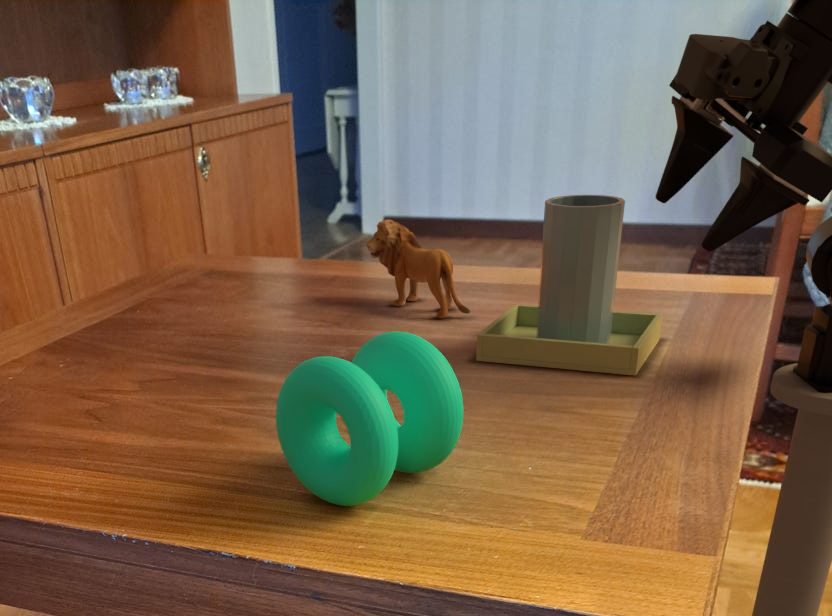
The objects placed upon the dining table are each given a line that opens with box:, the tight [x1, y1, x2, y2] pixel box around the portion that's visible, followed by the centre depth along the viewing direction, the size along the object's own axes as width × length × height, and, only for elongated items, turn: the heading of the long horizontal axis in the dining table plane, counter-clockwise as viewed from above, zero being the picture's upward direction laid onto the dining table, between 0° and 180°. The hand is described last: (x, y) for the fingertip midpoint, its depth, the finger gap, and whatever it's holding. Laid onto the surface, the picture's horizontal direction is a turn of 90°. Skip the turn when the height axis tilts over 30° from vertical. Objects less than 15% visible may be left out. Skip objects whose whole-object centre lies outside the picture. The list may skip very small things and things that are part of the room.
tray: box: [475, 303, 664, 377], centre depth 92 cm, size 15×12×2 cm
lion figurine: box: [365, 219, 471, 319], centre depth 107 cm, size 15×5×9 cm, turn 43°
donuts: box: [275, 330, 465, 507], centre depth 65 cm, size 10×10×10 cm
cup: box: [536, 194, 626, 344], centre depth 89 cm, size 7×7×13 cm
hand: (681, 224), depth 81 cm, fingers open, 9 cm apart
